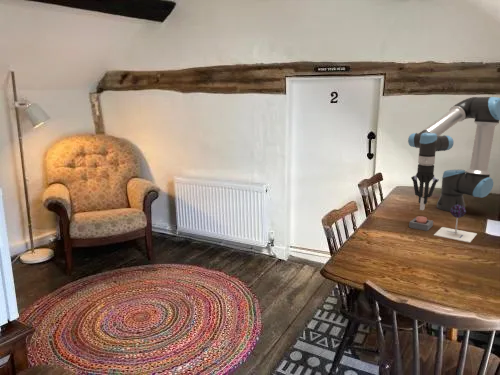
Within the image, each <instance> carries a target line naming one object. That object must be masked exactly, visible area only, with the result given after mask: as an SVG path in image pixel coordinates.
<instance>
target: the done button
mask: <svg viewBox="0 0 500 375" xmlns="http://www.w3.org/2000/svg"><path fill="white" fill-rule="evenodd" d="M415 218H416V222H417V223H423V224H426V223H427V220H428V218H427V217H426V216H422V215H421V216H419V215H418V216H416V217H415Z"/></svg>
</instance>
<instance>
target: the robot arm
mask: <svg viewBox="0 0 500 375" xmlns="http://www.w3.org/2000/svg"><path fill="white" fill-rule="evenodd" d="M468 119H474V123H475V125H476V128H475V129H476V130H475V135H474V140H473V145H472V146H473V147H472V153H471V157H470V158H471V159H470V165H469V169H467V170H464V169H447V170H444V171H443V173H442V177H441V179H442V181H441V191H440V196H439V199H437V202H436V208H437V209H439V210H441V211H447V212H450V209H451V208H452V207H453V206H454V205H457V204H459V205H462V206H463V207H464V208H465V209H466V202H465V199H464V195H467V196H471V197H474V198H482V199H483V198H485V197H487V196H489V194H490V193H491V192H492V190H493V187H494V180H493V178H492V177H490V176H491V173H490V172H489V170H488V169H489V163H490V158H491V151H492V145H493V142H494V134H495V131H496V130H495V129H496V126H497V125H499V124H500V97H498V96H497V97H496V96H495V97H494V96H480V97H479V96H473V97H472V96H471V97H469V98H466V99H463V100H461V101H459V102H457V103H456V104H455V105H453V106H451V108H450V109H449V111H448V112H446V113H445V114H443V115H442V116H441V117H439V118H438V119H437V120H435V121H434V122H433V123H431V124H429V125H428V126H427V127H425V128H423V129H422V130H421V131H420V132H415V133H414V132H413V133H411V134H409V136H408V139H407V140H408V141H407V143H408V145H409V146H410V147H412V148H415V149H419V150H418V159H417V160H418V164H417V169H416V170H417V171H416V174H415V175H413V176H411V180H412V183H413V189H414V190H413V191H414V195H415V196H417V197H418V204H419V211H424V210H425V209H426V208H425V207H426V204H427V203H428V198H430V197H432V196H433V193H434V191H435V187H436V185H437V184H438V182H439V178H436V177H435V174H434V171H435V161H436V152H445V151H450V150H451V149H452V148H453V147H454V139H453V137H452V136H450V135H442V134H443V133H445V132H447V131H448V130H449V129H450V128H452V127H453V126H455V125H456V124H457V123H460V122H463V121H464V120H468ZM418 181H419V184H418ZM431 181H432V184H431V185H430V183H431ZM429 188H430V189H429Z"/></svg>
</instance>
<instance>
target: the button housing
mask: <svg viewBox="0 0 500 375" xmlns="http://www.w3.org/2000/svg"><path fill="white" fill-rule="evenodd" d="M408 226H409V227H408V228H410V229H416V230H420V231H425V232H428V231H429V230H430V229H431V228H432V227H433V226H434V220H432V219H431V220H430V219H427V223H426V224H423V223H417V222H416V217H414V218H413V219H412V220H410V221H409V224H408Z"/></svg>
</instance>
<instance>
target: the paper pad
mask: <svg viewBox="0 0 500 375" xmlns="http://www.w3.org/2000/svg"><path fill="white" fill-rule="evenodd" d="M477 235H478V233H476V232H472V231H465V230H459V229H457V233H456V234H455V229H454V228H450V227H445V226H442V227H440V228H439V229H438V230H437V231H436V232H435V233H434V234H433V236H434V237H440V238H445V239H450V240H455V241H459V242H465V243H471V242H472V241H473V239H475V237H476V236H477Z"/></svg>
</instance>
